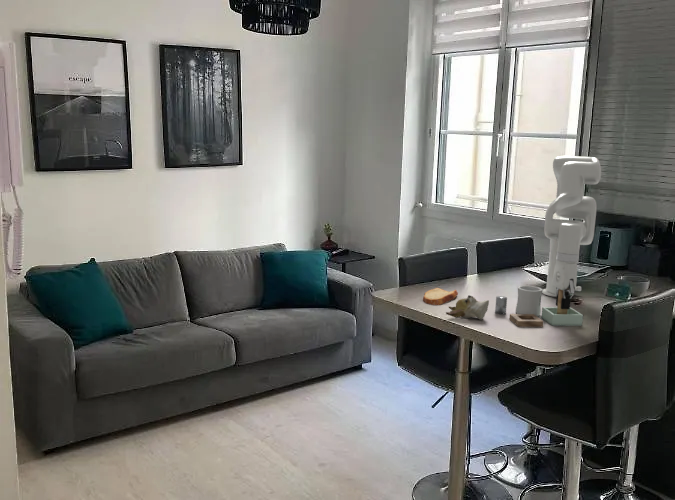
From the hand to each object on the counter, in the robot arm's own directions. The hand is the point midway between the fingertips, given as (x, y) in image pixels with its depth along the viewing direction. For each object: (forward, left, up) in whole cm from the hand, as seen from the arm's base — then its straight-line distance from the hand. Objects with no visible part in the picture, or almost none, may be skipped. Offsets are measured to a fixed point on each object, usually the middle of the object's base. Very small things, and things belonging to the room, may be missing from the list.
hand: (562, 306), depth 239 cm
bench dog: (+19, -11, -6) cm, 23 cm away
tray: (0, 0, -6) cm, 6 cm away
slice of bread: (+37, -31, -6) cm, 49 cm away
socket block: (+14, +2, -6) cm, 15 cm away
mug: (+9, -12, -6) cm, 16 cm away
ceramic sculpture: (+34, -5, -6) cm, 35 cm away
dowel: (0, 0, -4) cm, 4 cm away
